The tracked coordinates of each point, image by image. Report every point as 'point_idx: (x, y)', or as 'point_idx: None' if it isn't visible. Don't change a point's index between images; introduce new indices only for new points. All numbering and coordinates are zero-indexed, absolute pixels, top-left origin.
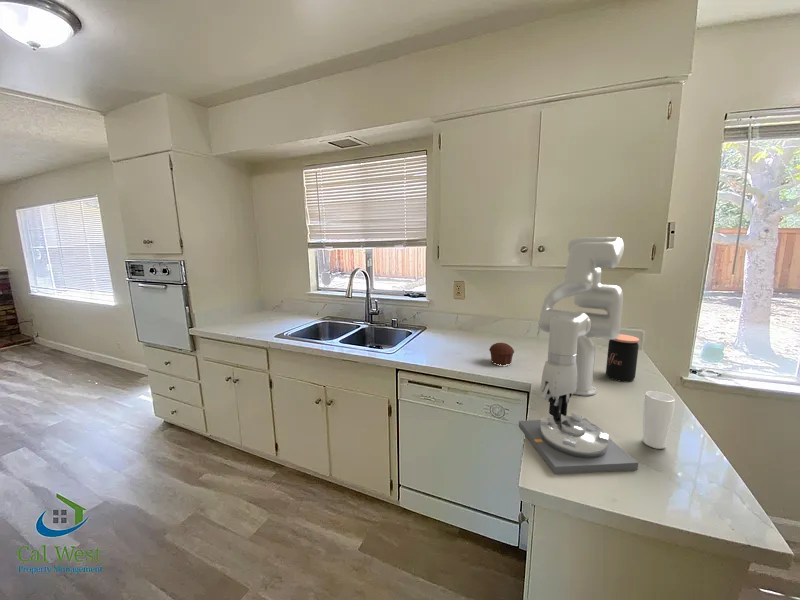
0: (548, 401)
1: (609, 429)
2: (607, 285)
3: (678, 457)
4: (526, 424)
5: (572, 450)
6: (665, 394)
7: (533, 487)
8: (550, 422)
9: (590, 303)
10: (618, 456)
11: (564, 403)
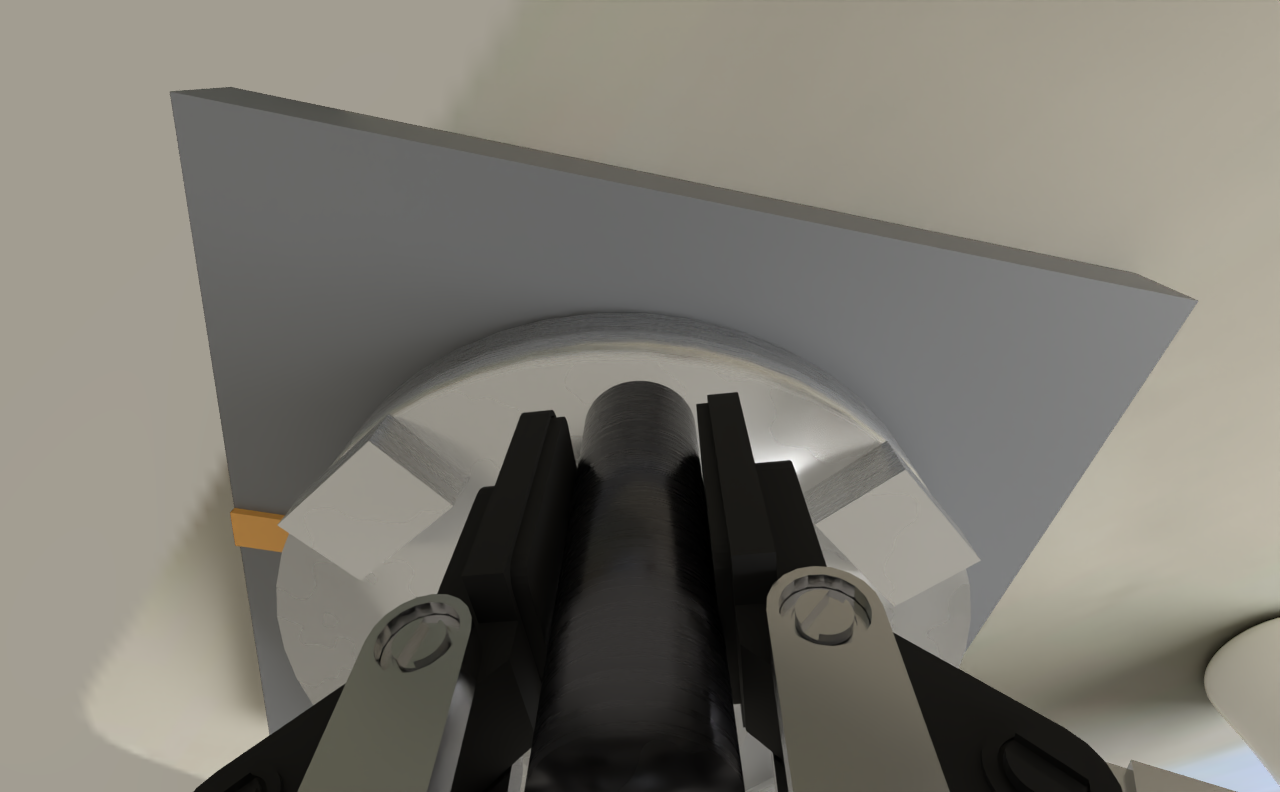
0: (376, 640)
1: (1242, 429)
2: None
3: (1213, 758)
4: (257, 222)
5: None
6: None
7: (120, 743)
8: (470, 491)
9: None
10: None
11: (741, 697)
